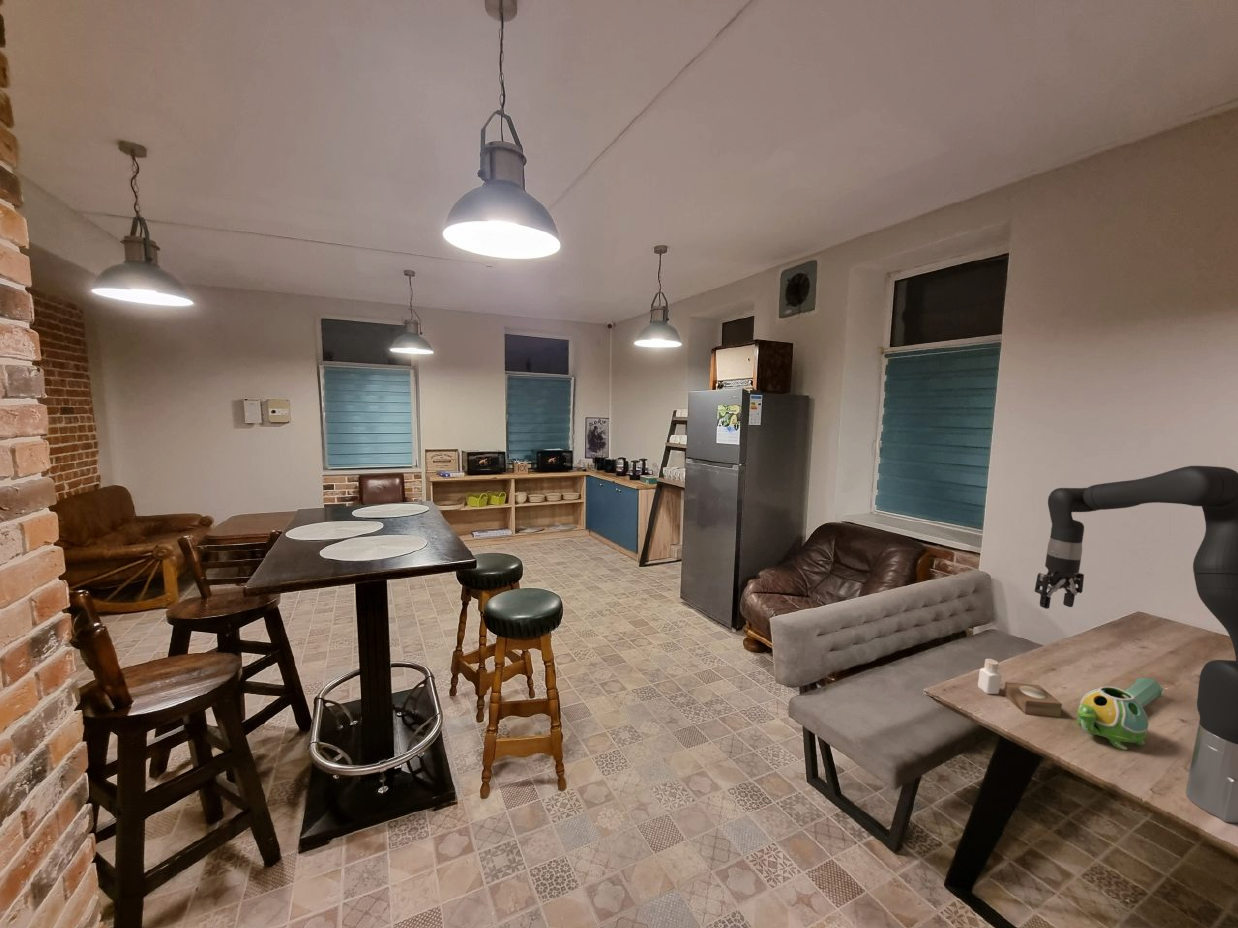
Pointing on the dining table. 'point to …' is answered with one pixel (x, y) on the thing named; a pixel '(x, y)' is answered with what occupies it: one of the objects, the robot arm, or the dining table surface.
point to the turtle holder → (1113, 716)
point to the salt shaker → (989, 677)
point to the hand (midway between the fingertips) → (1056, 606)
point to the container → (1144, 690)
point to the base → (1032, 699)
